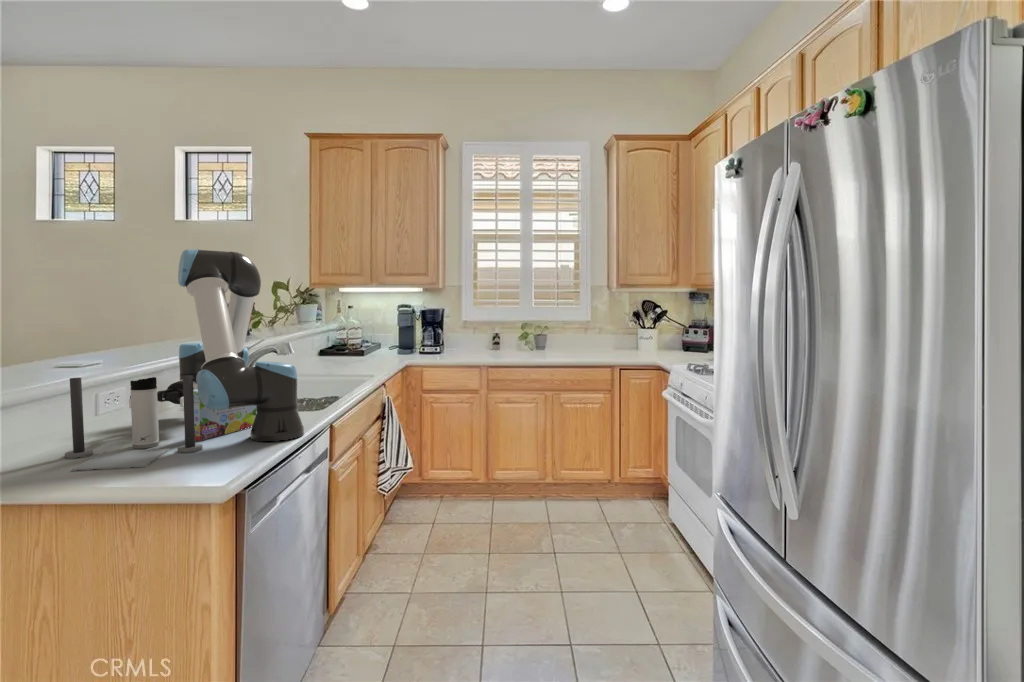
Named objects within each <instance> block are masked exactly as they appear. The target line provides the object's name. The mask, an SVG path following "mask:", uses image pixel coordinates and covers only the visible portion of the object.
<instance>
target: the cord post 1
mask: <svg viewBox="0 0 1024 682" xmlns="http://www.w3.org/2000/svg"><path fill="white" fill-rule="evenodd" d="M82 383H83V382H82V377H71V378H69V391H70V412H71V432H72V433H71V434H72V450H70V451H66V452H64V458H65V457H66V458H65V459H67V458H76V459H78V458H77V457H83V458H85V457H84V456H88V457H90V456H89V455H91V454H93V455H94V449H93V448H86V447H85V429H84V410H83V409H84V408H83V407H84V406H83V391H82V390H83V384H82ZM91 456H92V455H91Z"/></svg>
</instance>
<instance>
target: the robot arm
mask: <svg viewBox="0 0 1024 682" xmlns="http://www.w3.org/2000/svg"><path fill="white" fill-rule="evenodd" d="M177 279H178V280H177V281H178V282H177V283H178V285H179V286H180V287H183V288H185V287H186V293H187V294H189V295H190V296H191V297H193V300H194V305H195V311H196V315H197V321H198V325H199V331H200V332H199V333H200V338H201V342H189V343H188V342H186V343H182V344H180V345H179V350H178V361H179V362H178V364H179V380H177V381H176V382H175V381H174V382H173V383H171V384H169V385H168V386H167V388H166V389H163V390H157V401H158V403H159V402H160V403H162V402H171V403H172V404H174V405H180V406H179V407H181V408H182V407H183V408H184V398H183V376H187V375H192V376H193V390H198V394H199V397H200V399H201V401H202V403H203V405H204V406H205V407H206V408H208V409H210V410H217V409H222V410H225V409H229V408H237V407H245V406H254V405H256V417H255V420H254V423H253V426H252V428H250V440H252V439H253V440H252V441H254V440H257V441H256V442H260V441H276V442H280V441H279V440H285V441H289V440H288V439H291V440H294V439H293V438H295V439H298V438H301V437H303V436H304V435H305V428H304V425H303V422H302V419H301V415H300V414H299V410H298V379H299V378H298V374H297V368H296V367H297V366H295V365H294V364H293V363H287V362H281V361H280V362H278V361H268V360H267V361H264V360H263V361H262V360H261V361H260V360H259V361H256V362H255V364H254V366H248V367H247V365H248V363H249V356H250V355H249V354H250V353H249V349H248V348H247V347H246V346H245V343H246V338H247V335H248V330H249V325H250V321H251V316H252V313H253V307H254V304H255V298H256V297H257V296H259V294H260V293H261V292H260V291H261V287H262V279H261V274H260V272H259V270H258V268H257V266H256V264H255V263H254V262H253V261H252V259H250V258H249V257H247V256H246V255H245V254H242V253H239V252H238V251H226V250H225V251H223V250H222V251H221V250H207V249H200V248H199V249H198V248H197V249H193V248H192V249H188V248H187V249H185V250H183V251H182V252H181V254H180V258H179V263H178V273H177ZM228 291H230V295H229V302H228V301H227V298H226V293H227V292H228ZM227 302H228V303H227ZM128 403H129V404H128V405H129V409H131V395H129V400H128ZM297 437H298V438H297Z"/></svg>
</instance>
